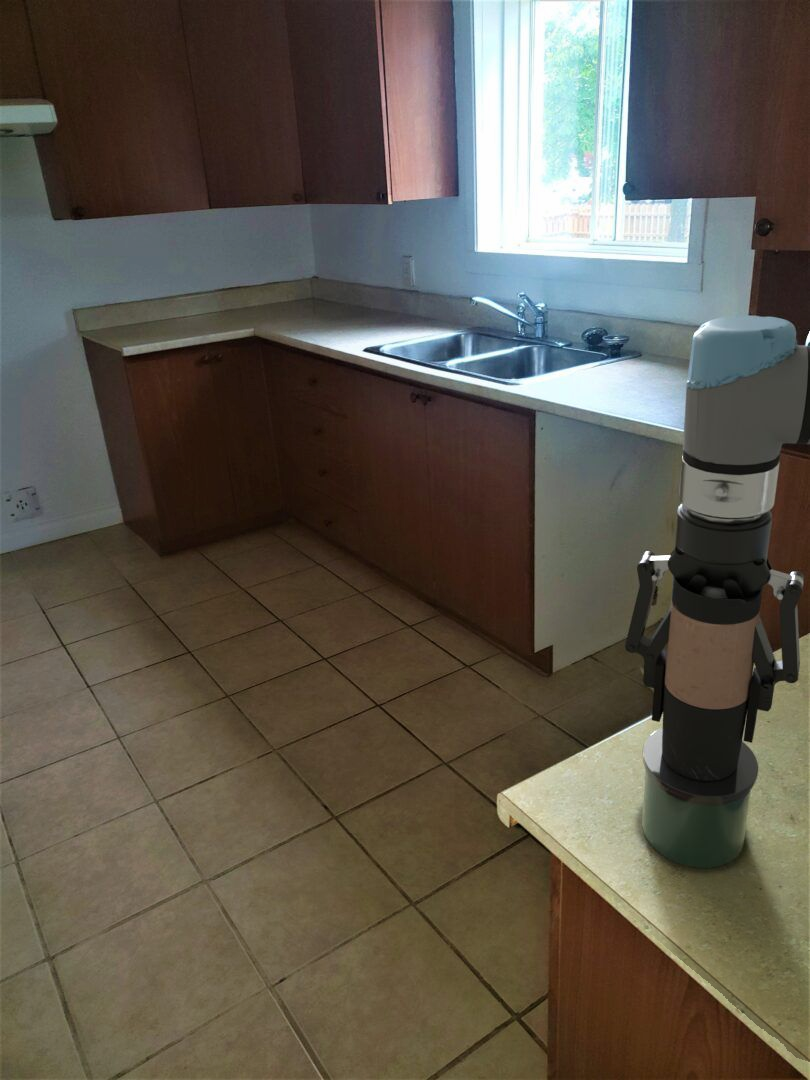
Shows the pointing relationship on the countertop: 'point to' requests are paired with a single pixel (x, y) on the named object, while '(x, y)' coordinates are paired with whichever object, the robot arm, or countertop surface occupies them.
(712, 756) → the travel mug
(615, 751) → the countertop surface
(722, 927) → the countertop surface
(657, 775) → the jar
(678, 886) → the countertop surface
